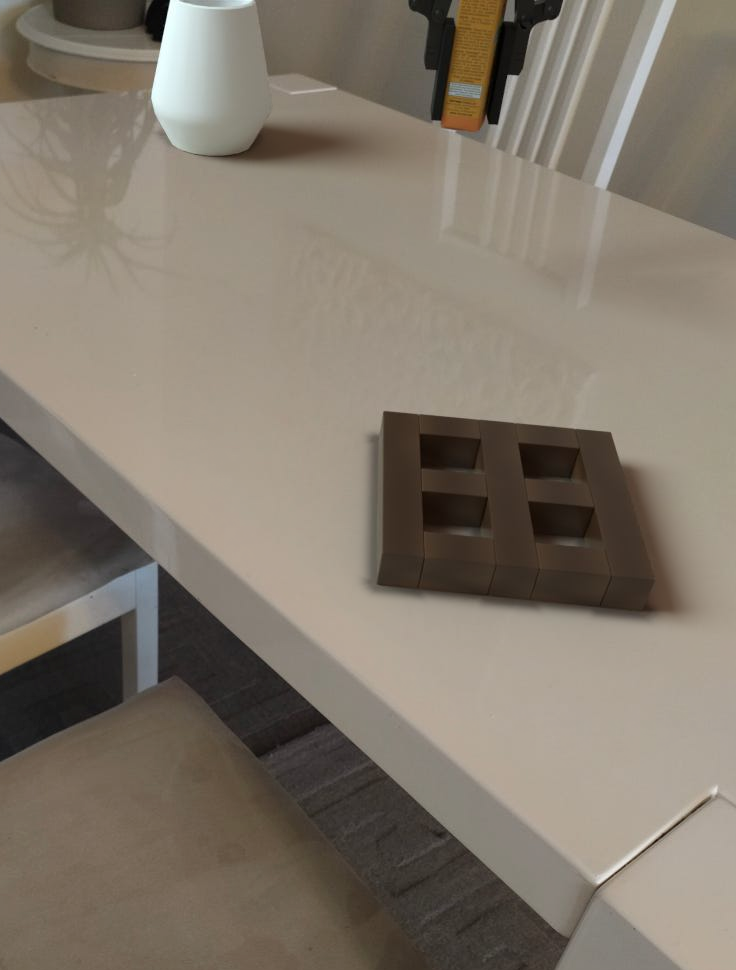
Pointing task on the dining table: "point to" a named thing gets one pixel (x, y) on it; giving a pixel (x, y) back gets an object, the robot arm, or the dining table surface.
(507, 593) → the socket block
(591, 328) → the dining table surface
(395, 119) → the dining table surface
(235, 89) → the white vase
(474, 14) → the supplement box
